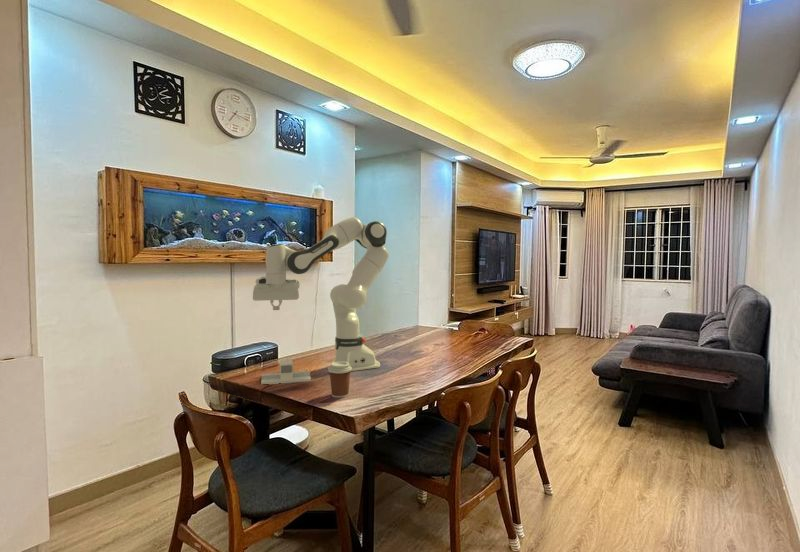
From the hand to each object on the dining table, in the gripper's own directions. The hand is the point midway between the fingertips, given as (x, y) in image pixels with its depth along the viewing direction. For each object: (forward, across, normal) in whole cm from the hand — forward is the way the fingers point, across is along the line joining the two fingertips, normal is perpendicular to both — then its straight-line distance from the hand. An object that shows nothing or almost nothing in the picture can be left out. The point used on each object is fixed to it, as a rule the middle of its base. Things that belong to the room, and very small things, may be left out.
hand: (276, 310), depth 191 cm
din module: (+27, -4, +14) cm, 31 cm away
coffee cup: (+28, -22, +42) cm, 55 cm away
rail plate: (+28, -3, +14) cm, 32 cm away
